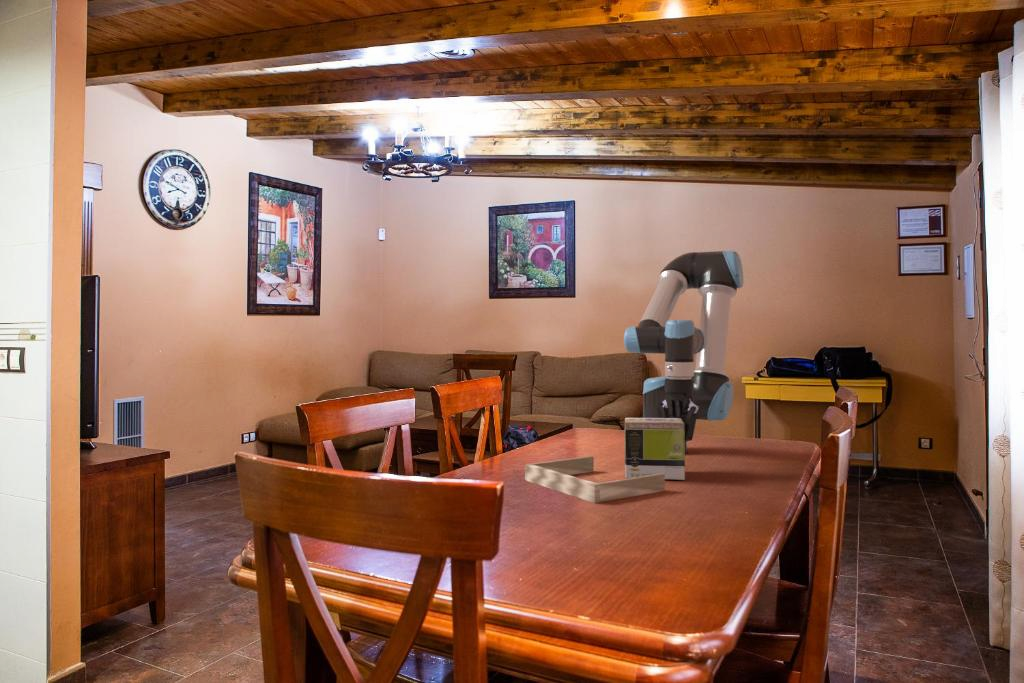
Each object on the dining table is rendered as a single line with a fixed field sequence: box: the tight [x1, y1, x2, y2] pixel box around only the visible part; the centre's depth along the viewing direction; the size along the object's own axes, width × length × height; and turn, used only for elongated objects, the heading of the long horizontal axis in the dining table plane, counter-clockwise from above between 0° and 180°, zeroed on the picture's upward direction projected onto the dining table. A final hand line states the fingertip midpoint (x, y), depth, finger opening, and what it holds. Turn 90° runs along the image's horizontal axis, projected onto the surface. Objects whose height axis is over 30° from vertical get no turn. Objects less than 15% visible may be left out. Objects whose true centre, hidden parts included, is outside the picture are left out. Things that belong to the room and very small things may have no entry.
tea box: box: [624, 417, 686, 481], centre depth 185 cm, size 15×10×15 cm, turn 81°
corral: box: [524, 455, 666, 504], centre depth 174 cm, size 27×22×4 cm
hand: (678, 466), depth 190 cm, fingers closed
